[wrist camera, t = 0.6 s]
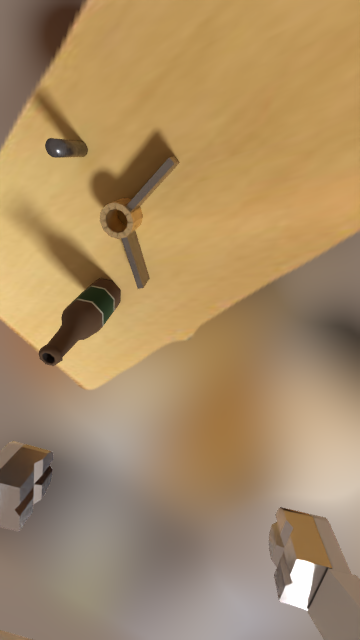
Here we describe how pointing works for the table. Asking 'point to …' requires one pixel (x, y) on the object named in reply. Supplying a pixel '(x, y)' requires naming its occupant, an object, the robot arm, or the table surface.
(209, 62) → the table surface
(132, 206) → the hinge
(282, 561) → the robot arm
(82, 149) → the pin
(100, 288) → the beer bottle
